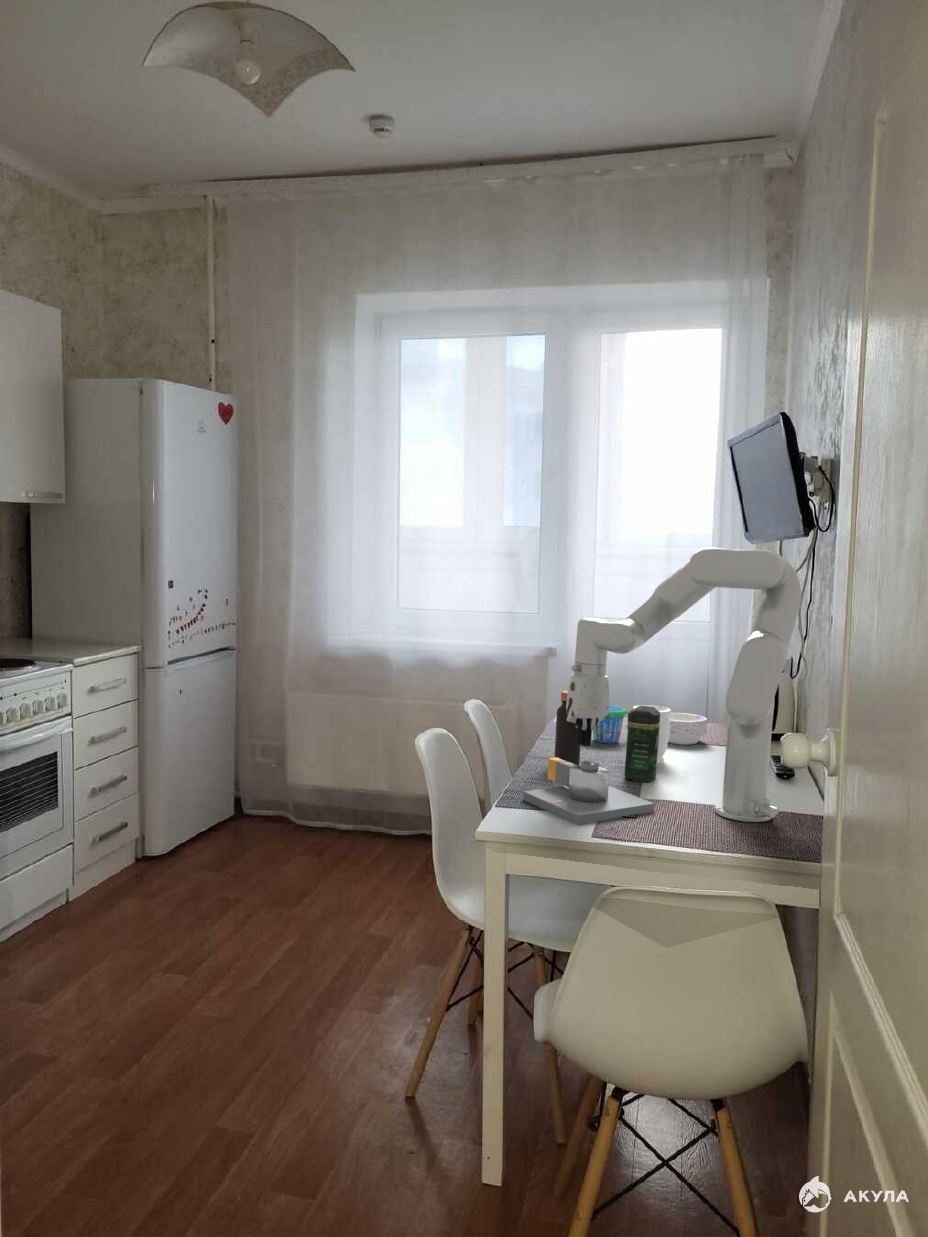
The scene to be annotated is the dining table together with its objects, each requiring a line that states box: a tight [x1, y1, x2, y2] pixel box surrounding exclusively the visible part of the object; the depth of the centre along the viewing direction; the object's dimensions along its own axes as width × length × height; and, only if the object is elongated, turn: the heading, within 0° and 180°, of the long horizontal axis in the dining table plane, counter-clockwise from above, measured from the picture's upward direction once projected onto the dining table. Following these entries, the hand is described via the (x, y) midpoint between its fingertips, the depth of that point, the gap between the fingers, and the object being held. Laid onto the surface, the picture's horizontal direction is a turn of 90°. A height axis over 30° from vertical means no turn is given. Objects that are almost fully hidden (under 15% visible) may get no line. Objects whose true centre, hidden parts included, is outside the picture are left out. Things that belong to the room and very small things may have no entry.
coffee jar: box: [624, 706, 660, 783], centre depth 241 cm, size 10×8×19 cm
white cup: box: [632, 704, 672, 765], centre depth 260 cm, size 11×10×15 cm
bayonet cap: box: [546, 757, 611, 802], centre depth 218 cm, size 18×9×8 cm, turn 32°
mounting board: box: [522, 785, 655, 826], centre depth 214 cm, size 20×22×2 cm
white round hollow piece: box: [668, 712, 708, 746], centre depth 287 cm, size 15×15×8 cm
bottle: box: [553, 690, 581, 766], centre depth 250 cm, size 7×7×20 cm
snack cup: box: [592, 705, 630, 745], centre depth 283 cm, size 16×10×10 cm
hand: (583, 744), depth 226 cm, fingers closed
